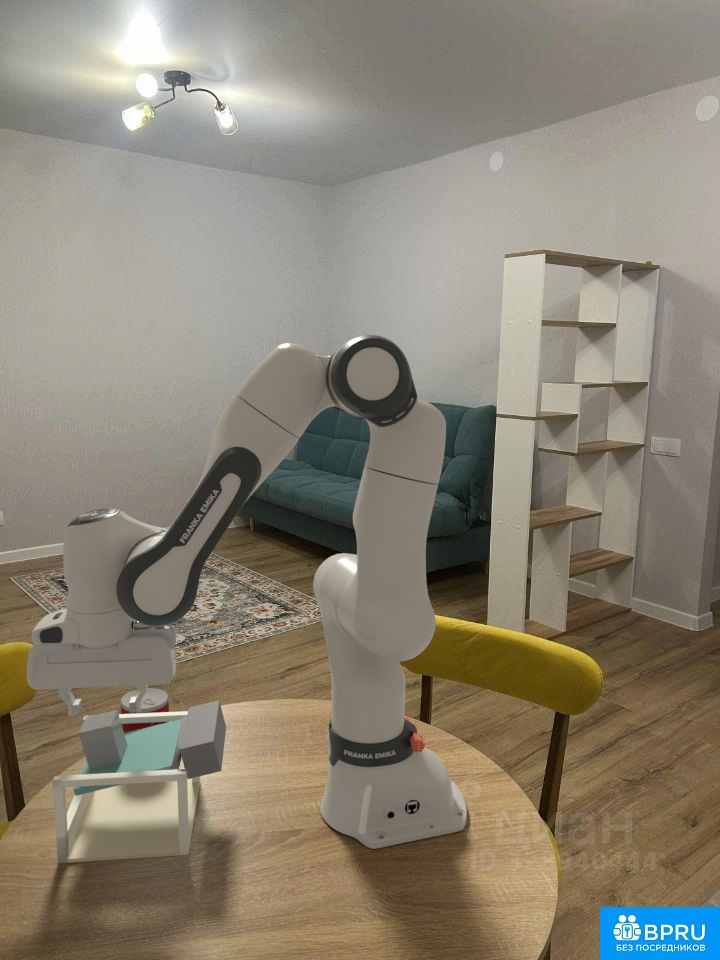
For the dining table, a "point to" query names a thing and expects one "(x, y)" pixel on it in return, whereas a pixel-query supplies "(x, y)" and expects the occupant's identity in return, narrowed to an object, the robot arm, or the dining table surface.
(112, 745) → the grey block
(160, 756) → the trapdoor
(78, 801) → the frame
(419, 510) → the robot arm
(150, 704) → the canned food
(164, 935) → the dining table surface
